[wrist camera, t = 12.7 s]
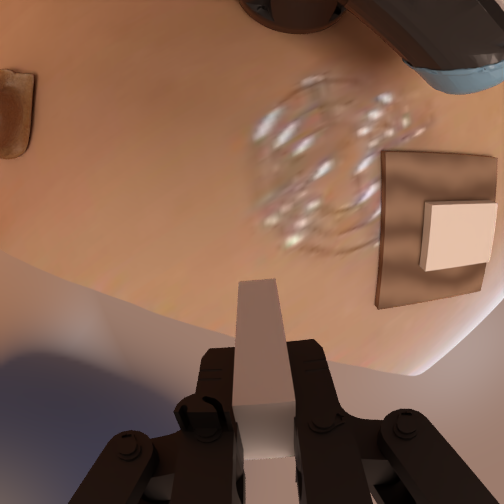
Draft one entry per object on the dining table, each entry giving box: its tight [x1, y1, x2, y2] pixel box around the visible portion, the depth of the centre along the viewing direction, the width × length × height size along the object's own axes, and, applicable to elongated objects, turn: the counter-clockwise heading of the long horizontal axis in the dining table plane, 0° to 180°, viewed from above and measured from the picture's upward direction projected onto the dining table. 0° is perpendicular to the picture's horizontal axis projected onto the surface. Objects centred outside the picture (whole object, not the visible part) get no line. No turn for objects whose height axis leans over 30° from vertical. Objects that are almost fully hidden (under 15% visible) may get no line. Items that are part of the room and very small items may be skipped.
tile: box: [419, 200, 498, 271], centre depth 40 cm, size 10×2×14 cm
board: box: [375, 151, 498, 310], centre depth 42 cm, size 24×22×2 cm
